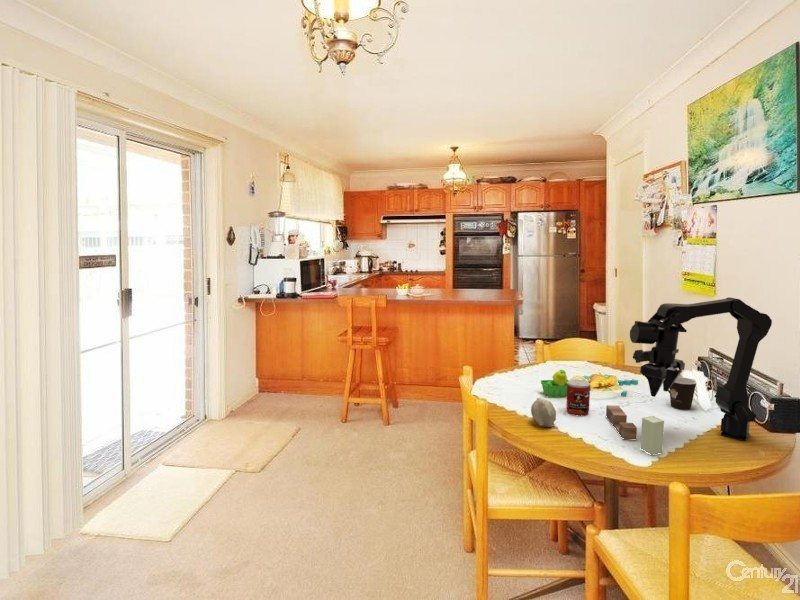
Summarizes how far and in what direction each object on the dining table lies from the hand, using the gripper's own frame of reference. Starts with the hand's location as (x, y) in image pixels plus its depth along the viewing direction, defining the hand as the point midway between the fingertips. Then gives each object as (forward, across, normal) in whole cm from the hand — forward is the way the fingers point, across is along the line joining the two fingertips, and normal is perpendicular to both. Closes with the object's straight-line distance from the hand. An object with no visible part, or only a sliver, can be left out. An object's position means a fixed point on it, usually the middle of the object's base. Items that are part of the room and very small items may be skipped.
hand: (659, 393), depth 148 cm
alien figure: (+14, -37, -34) cm, 52 cm away
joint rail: (+14, +1, -10) cm, 17 cm away
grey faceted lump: (+16, +17, -29) cm, 37 cm away
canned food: (+15, -1, -26) cm, 31 cm away
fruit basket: (+16, -11, -41) cm, 45 cm away
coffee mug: (+12, -34, -5) cm, 36 cm away
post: (+14, +12, +4) cm, 19 cm away
